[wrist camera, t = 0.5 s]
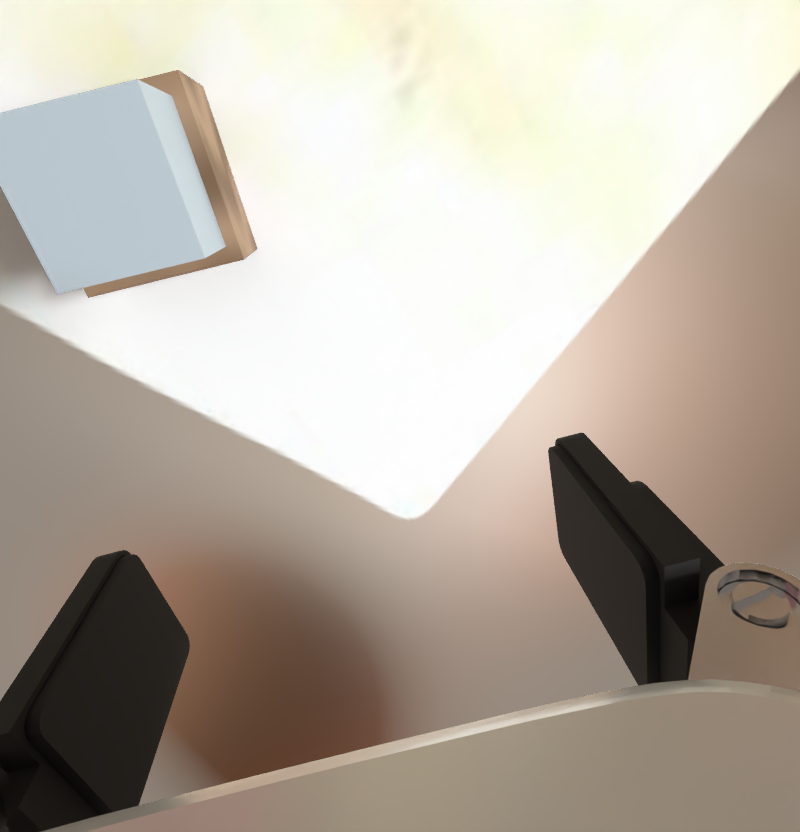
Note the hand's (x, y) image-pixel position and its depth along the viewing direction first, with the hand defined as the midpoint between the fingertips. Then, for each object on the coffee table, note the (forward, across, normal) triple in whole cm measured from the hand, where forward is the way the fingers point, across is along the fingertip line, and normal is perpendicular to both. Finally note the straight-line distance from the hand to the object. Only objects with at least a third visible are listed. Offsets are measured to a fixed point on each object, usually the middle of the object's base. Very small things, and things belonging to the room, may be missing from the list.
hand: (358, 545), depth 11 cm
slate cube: (+24, +10, -9) cm, 28 cm away
